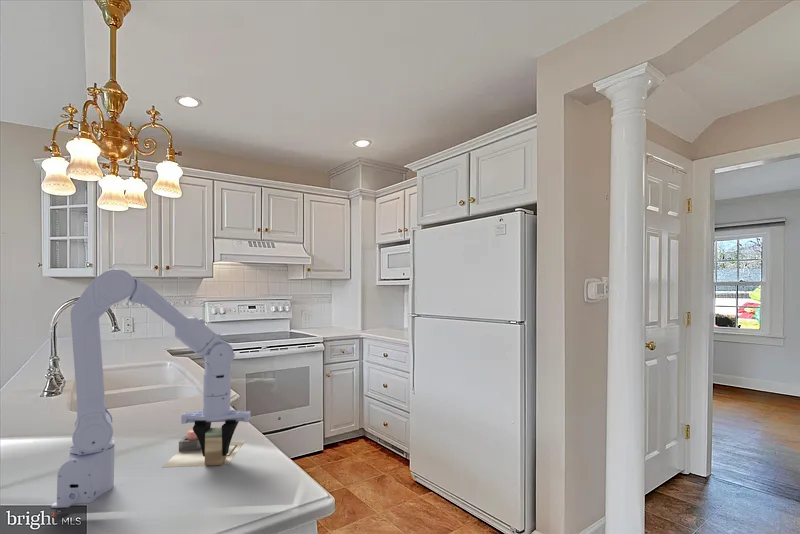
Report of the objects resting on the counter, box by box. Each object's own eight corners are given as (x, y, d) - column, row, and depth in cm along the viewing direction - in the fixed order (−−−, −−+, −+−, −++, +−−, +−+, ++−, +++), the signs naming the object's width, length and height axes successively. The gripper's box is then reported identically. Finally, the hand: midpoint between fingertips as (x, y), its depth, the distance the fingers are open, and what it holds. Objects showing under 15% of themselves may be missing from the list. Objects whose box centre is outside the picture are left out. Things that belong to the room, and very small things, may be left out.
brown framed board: (230, 470, 96) (230, 456, 96) (153, 473, 94) (154, 459, 94) (250, 441, 114) (250, 429, 114) (186, 442, 112) (186, 431, 112)
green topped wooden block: (221, 464, 97) (222, 432, 97) (204, 465, 96) (205, 433, 97) (226, 458, 100) (226, 427, 100) (210, 458, 100) (210, 427, 100)
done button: (197, 443, 106) (197, 432, 106) (184, 444, 106) (185, 433, 106) (202, 439, 109) (202, 428, 109) (189, 439, 109) (189, 429, 109)
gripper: (254, 388, 103) (253, 446, 103) (190, 389, 102) (189, 448, 102) (246, 396, 96) (245, 458, 96) (178, 397, 95) (176, 460, 95)
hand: (215, 454), depth 98 cm, fingers closed on green topped wooden block, 4 cm apart
